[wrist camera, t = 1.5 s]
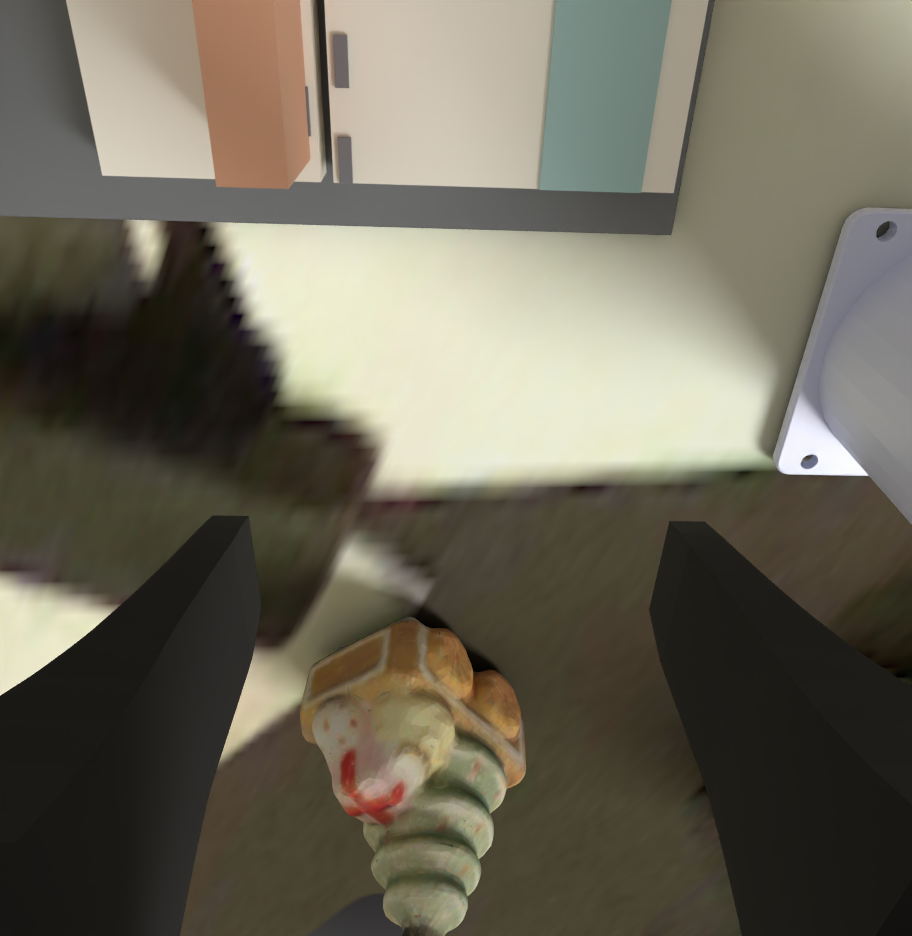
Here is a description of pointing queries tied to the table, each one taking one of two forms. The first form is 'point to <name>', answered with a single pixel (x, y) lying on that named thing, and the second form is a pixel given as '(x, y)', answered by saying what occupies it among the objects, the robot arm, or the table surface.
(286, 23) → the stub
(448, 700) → the ornament
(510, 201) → the mat
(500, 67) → the ticket
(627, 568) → the table surface
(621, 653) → the table surface
